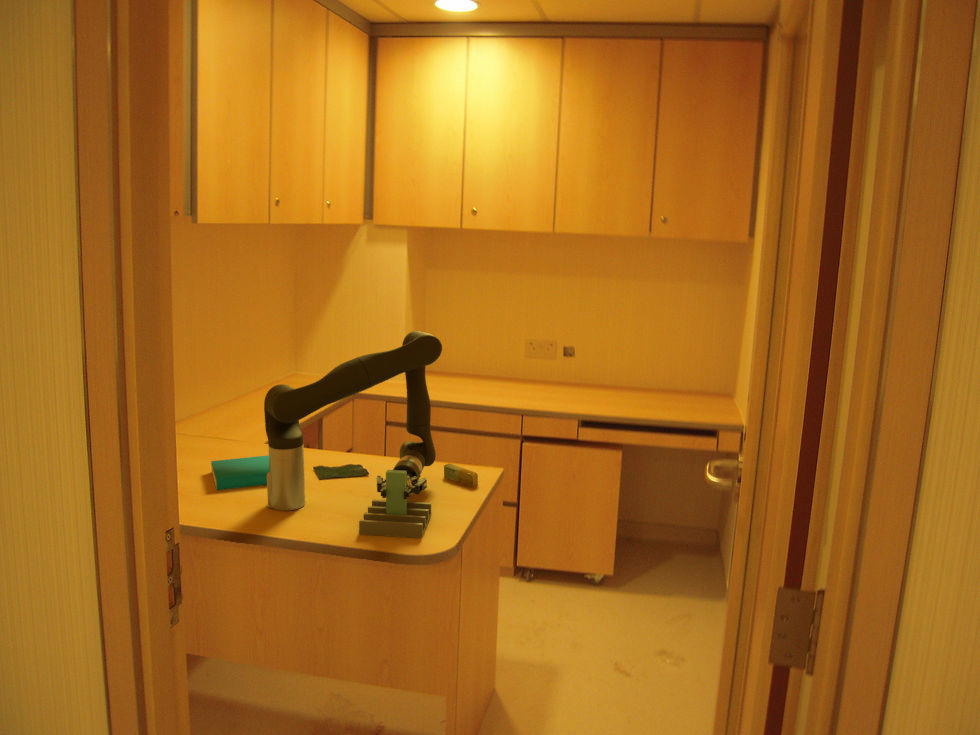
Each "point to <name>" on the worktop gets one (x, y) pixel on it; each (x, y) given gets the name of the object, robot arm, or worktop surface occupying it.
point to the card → (396, 492)
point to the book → (240, 472)
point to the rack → (396, 520)
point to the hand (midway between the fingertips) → (394, 495)
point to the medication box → (461, 475)
